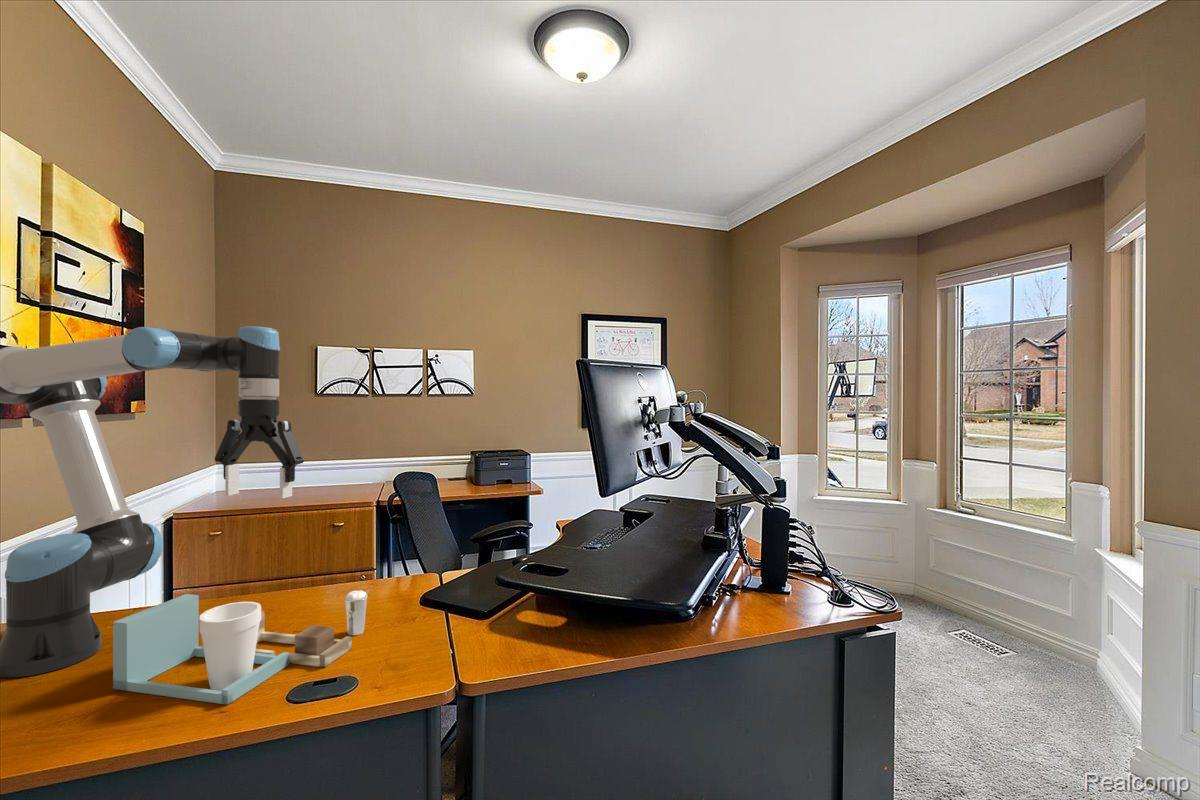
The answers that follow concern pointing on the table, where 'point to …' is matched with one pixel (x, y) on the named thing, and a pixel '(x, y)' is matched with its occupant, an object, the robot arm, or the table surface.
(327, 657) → the slat
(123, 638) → the teal frame with backboard
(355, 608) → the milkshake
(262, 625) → the slat
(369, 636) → the table surface
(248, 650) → the foam cup
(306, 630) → the walnut block
